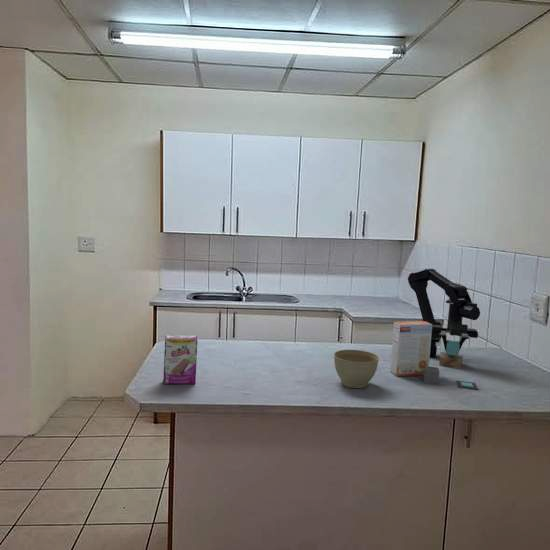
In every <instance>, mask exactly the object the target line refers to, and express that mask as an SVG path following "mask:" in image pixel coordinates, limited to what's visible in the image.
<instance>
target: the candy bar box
mask: <svg viewBox="0 0 550 550" xmlns="http://www.w3.org/2000/svg"><path fill="white" fill-rule="evenodd" d="M163 353H164V355H163V357H164V358H163V385H195V384H196V380H197V379H196V376H197V360H198V359H197V355H198V336H197V335H176V334H175V335H173V334H171V335H170V334H169V335H165V336H164V352H163Z"/></svg>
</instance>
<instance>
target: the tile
mask: <svg viewBox="0 0 550 550" xmlns="http://www.w3.org/2000/svg"><path fill="white" fill-rule="evenodd" d="M455 382H456V386H457V388H461V389H469V390H476V391H477V390H479V388H478V386H477V383H476V382H471V381H464V380H455Z"/></svg>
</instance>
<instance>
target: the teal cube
mask: <svg viewBox="0 0 550 550" xmlns="http://www.w3.org/2000/svg"><path fill="white" fill-rule="evenodd" d="M446 345H447V346H446V350H445V349H444V353H446V354H451V355H460V351H459V346H460V343H459V340H451V339H446Z"/></svg>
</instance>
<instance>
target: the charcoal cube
mask: <svg viewBox="0 0 550 550" xmlns="http://www.w3.org/2000/svg"><path fill="white" fill-rule="evenodd" d="M439 380H440V369H439V367H436V366H435V367H434V366H429V367H428V366H425V369H424V375H423V381H424V383H426V384H433V385H439Z"/></svg>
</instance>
